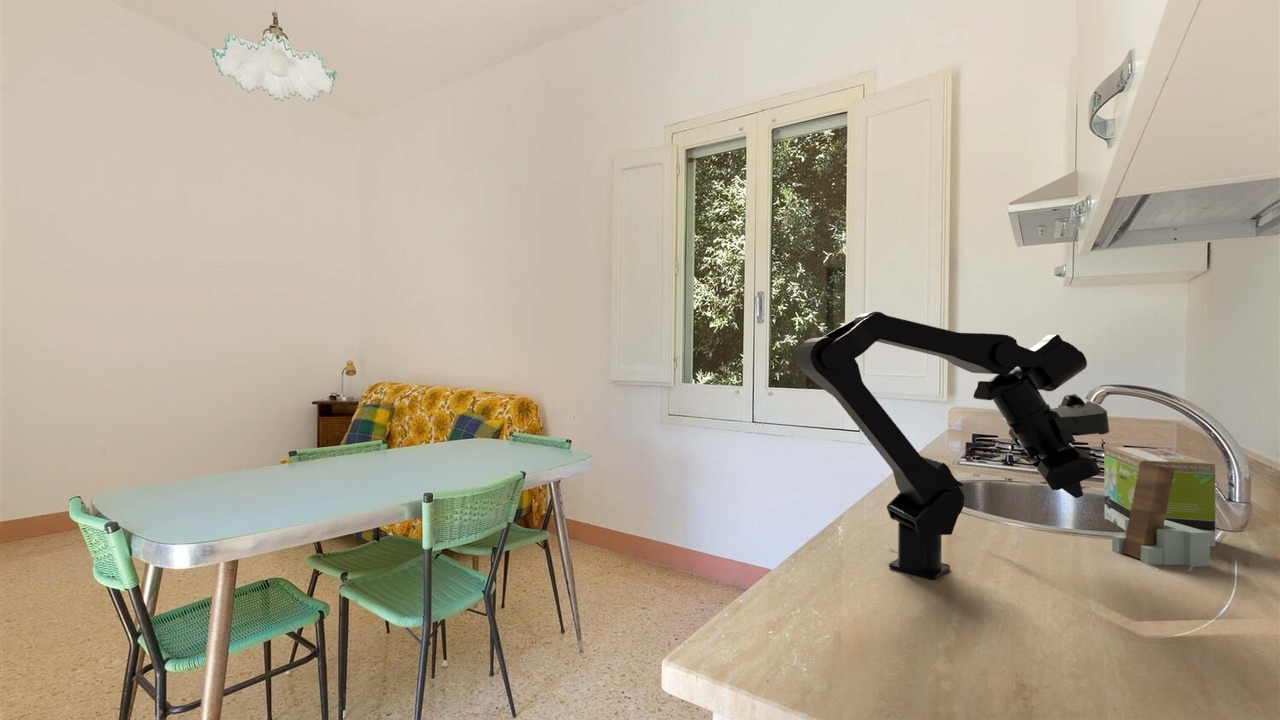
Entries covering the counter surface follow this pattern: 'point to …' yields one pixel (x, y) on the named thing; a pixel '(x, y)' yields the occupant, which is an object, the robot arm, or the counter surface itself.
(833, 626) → the counter surface
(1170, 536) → the bracket
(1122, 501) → the tea box
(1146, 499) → the brown wooden post
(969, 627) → the counter surface
